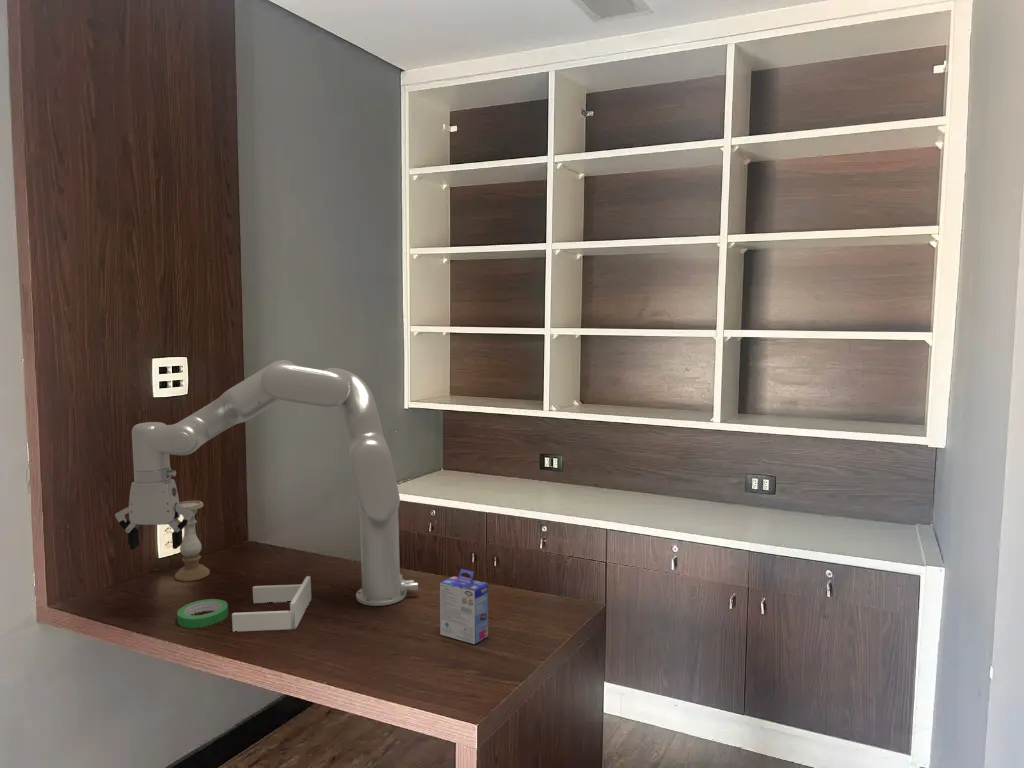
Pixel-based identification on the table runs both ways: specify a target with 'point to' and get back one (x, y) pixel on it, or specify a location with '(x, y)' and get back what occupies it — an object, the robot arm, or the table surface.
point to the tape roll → (199, 606)
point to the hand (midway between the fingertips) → (155, 547)
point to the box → (275, 619)
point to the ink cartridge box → (464, 608)
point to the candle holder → (191, 548)
